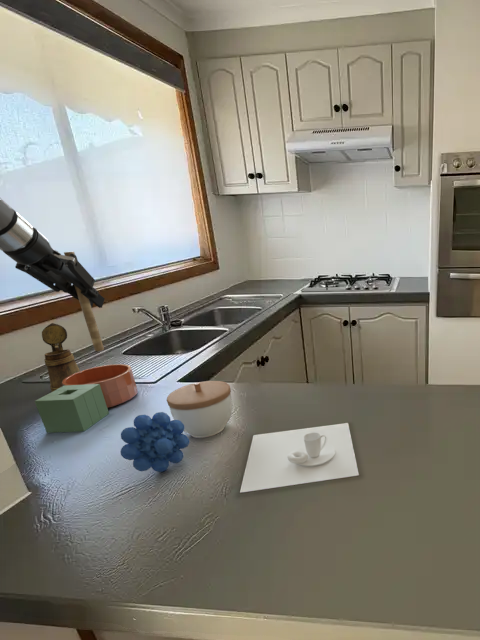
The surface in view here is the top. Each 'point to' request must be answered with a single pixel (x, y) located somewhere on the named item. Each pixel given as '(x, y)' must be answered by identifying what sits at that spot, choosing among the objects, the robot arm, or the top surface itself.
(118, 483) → the top surface
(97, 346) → the stick
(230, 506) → the top surface
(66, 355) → the wooden barrel with disc
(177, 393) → the lidded bowl
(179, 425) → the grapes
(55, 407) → the stick stand
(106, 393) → the mixing bowl
